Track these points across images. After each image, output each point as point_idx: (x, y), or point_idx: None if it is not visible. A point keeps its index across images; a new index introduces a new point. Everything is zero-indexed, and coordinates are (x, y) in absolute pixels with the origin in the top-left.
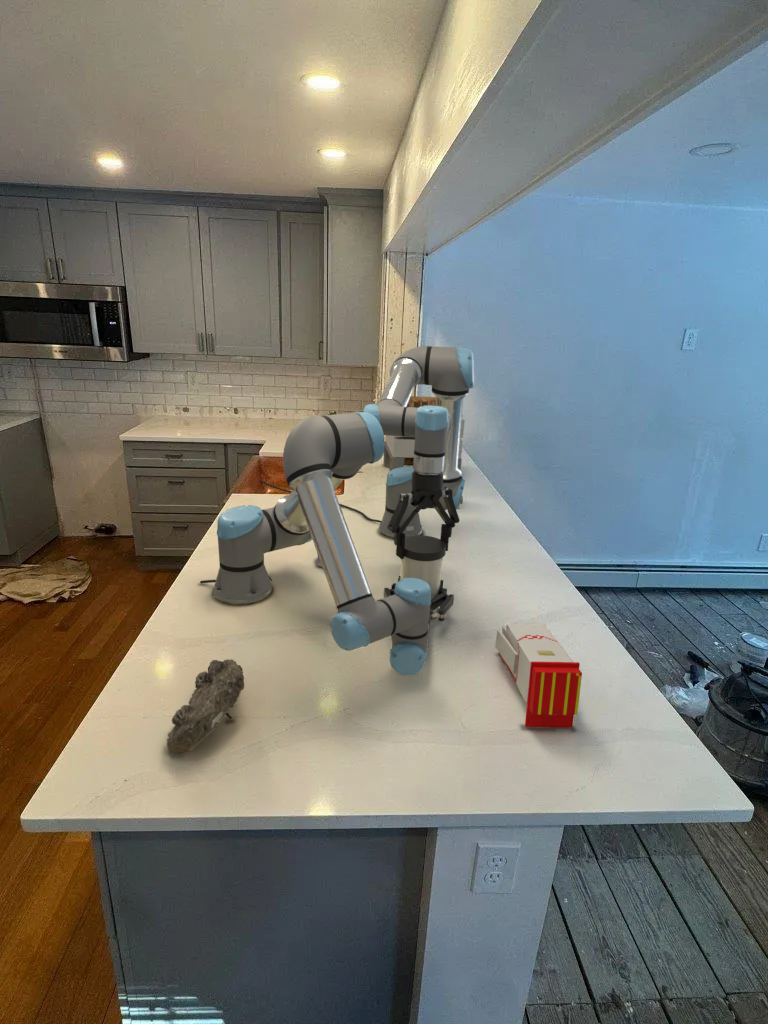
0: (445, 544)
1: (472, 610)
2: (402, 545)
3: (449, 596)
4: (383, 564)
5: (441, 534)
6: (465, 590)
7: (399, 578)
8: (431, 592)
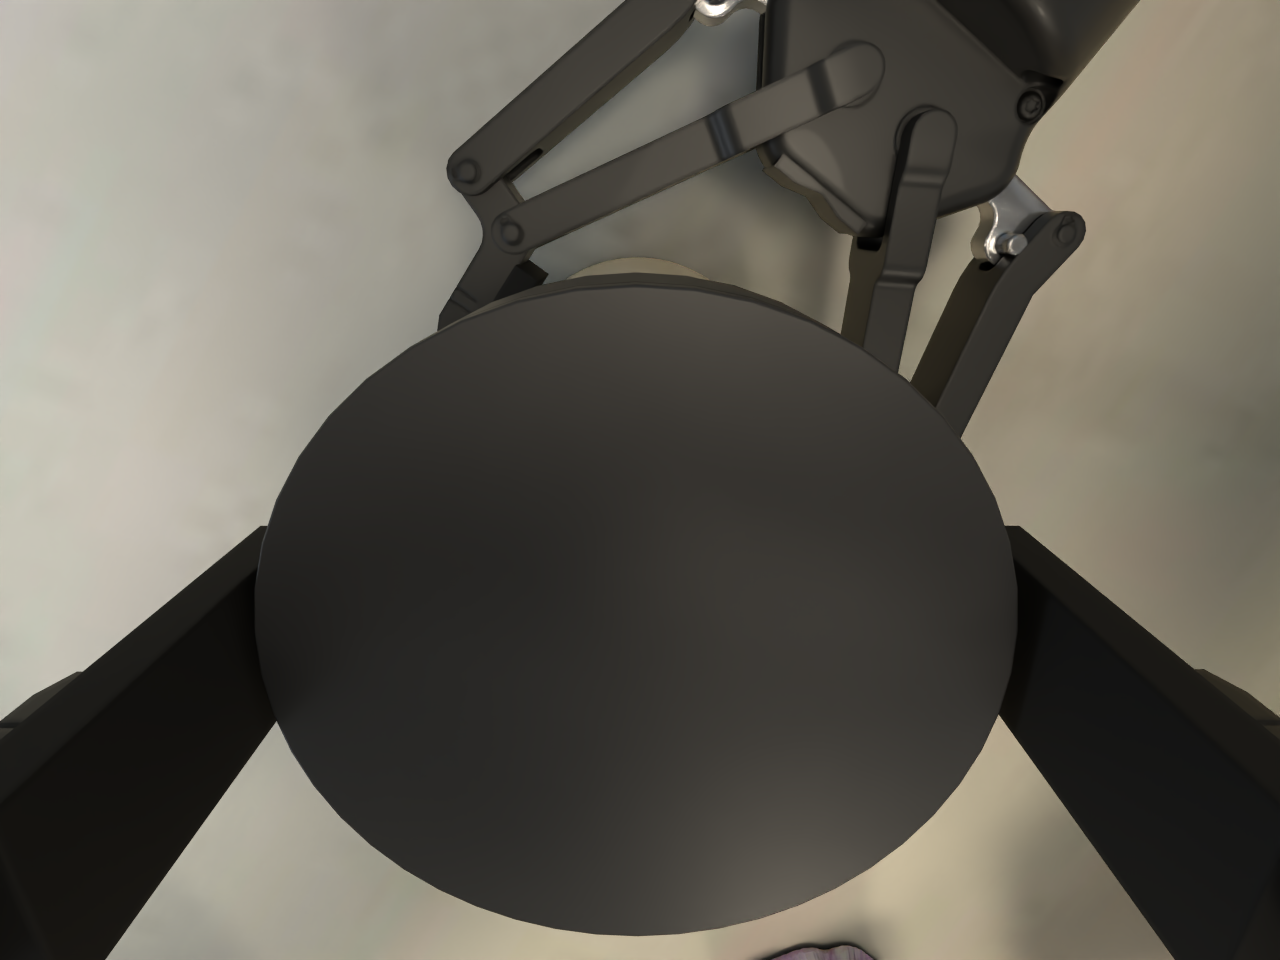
0: (272, 531)
1: (287, 244)
2: (1149, 642)
3: (497, 161)
4: None
5: (210, 787)
6: (216, 490)
7: None
8: (629, 271)
